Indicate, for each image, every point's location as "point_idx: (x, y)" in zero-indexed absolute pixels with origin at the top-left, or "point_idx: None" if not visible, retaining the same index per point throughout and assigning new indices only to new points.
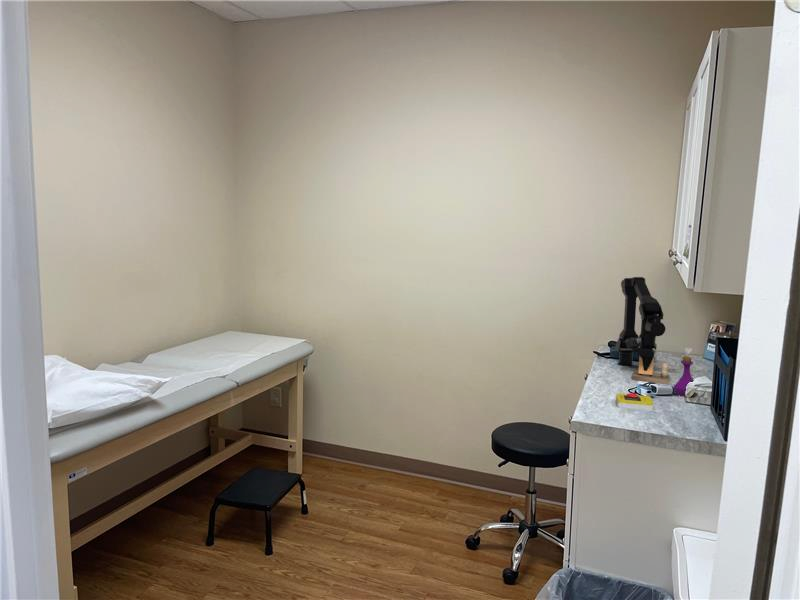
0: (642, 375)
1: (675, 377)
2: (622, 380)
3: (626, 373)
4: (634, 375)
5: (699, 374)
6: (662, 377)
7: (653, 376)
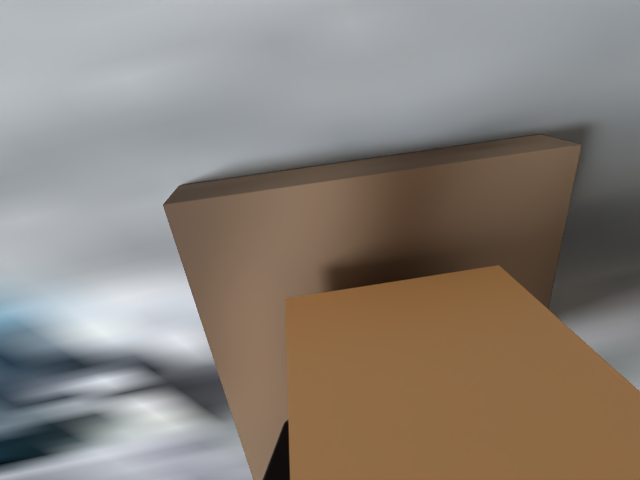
0: None
1: None
2: (17, 69)
3: (587, 9)
4: (259, 229)
5: None
6: None
7: None
